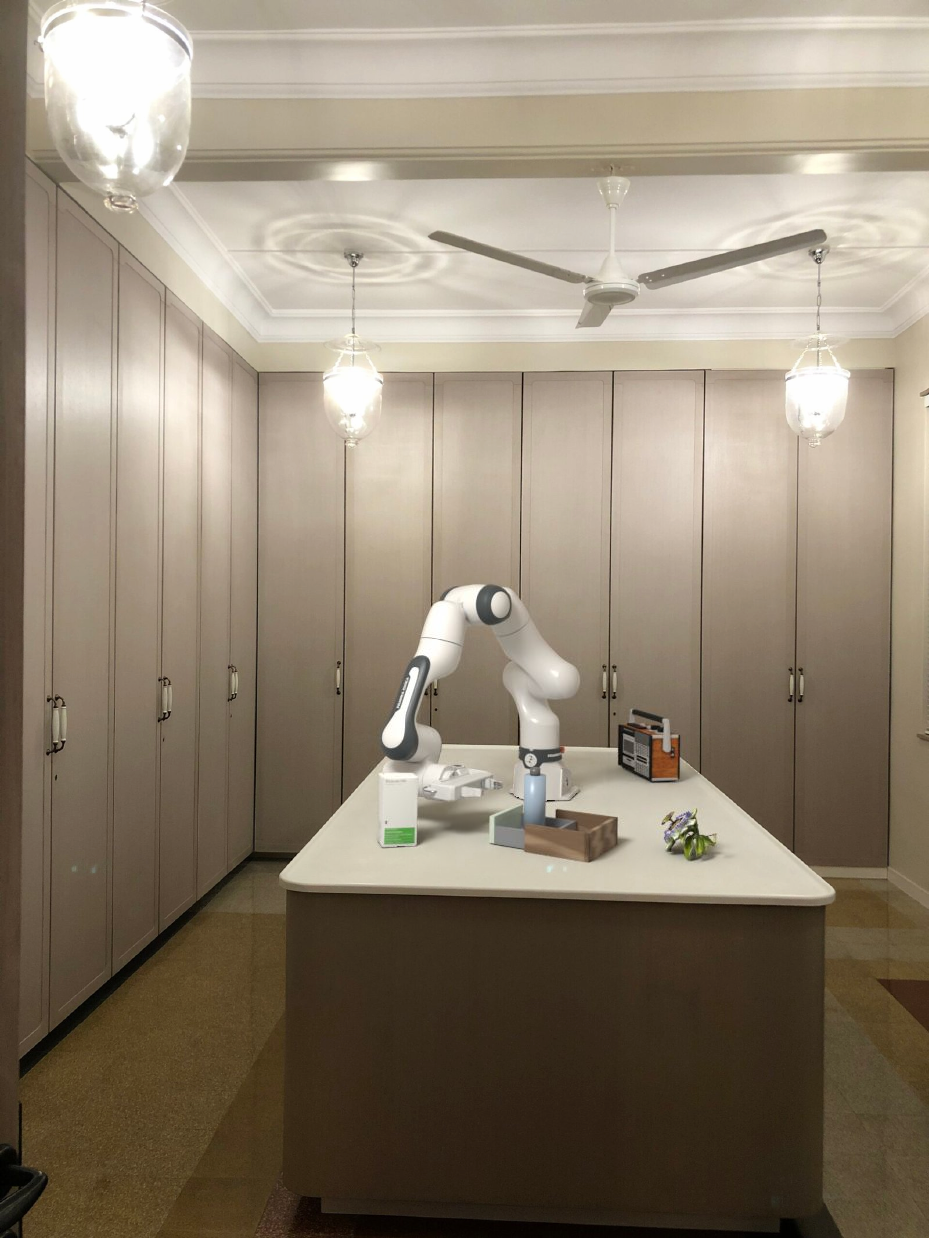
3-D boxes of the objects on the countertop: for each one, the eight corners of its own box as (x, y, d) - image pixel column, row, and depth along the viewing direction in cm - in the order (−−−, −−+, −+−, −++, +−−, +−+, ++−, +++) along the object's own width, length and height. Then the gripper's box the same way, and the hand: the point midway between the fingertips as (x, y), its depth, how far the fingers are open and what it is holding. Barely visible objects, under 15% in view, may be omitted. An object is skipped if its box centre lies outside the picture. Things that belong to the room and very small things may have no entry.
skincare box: (381, 848, 189) (382, 778, 189) (376, 840, 196) (376, 772, 196) (418, 846, 192) (419, 776, 191) (412, 838, 198) (413, 771, 198)
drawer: (518, 829, 206) (518, 803, 206) (576, 838, 199) (576, 811, 199) (489, 843, 194) (489, 816, 194) (550, 853, 186) (550, 824, 186)
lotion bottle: (529, 832, 200) (530, 765, 199) (548, 835, 197) (549, 767, 197) (519, 837, 195) (520, 768, 195) (539, 840, 193) (540, 771, 193)
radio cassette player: (616, 767, 292) (616, 708, 292) (644, 766, 294) (645, 708, 294) (651, 784, 263) (651, 719, 263) (682, 783, 265) (683, 719, 265)
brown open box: (556, 834, 203) (557, 808, 203) (617, 843, 195) (617, 817, 195) (524, 851, 188) (524, 824, 188) (588, 862, 180) (588, 833, 180)
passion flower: (669, 876, 189) (655, 824, 196) (718, 868, 189) (703, 816, 196) (672, 859, 180) (658, 805, 187) (724, 851, 180) (708, 797, 186)
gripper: (418, 776, 200) (470, 783, 193) (463, 763, 217) (511, 769, 210) (418, 803, 200) (470, 811, 193) (462, 788, 217) (511, 794, 210)
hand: (492, 789), depth 202 cm, fingers open, 8 cm apart
